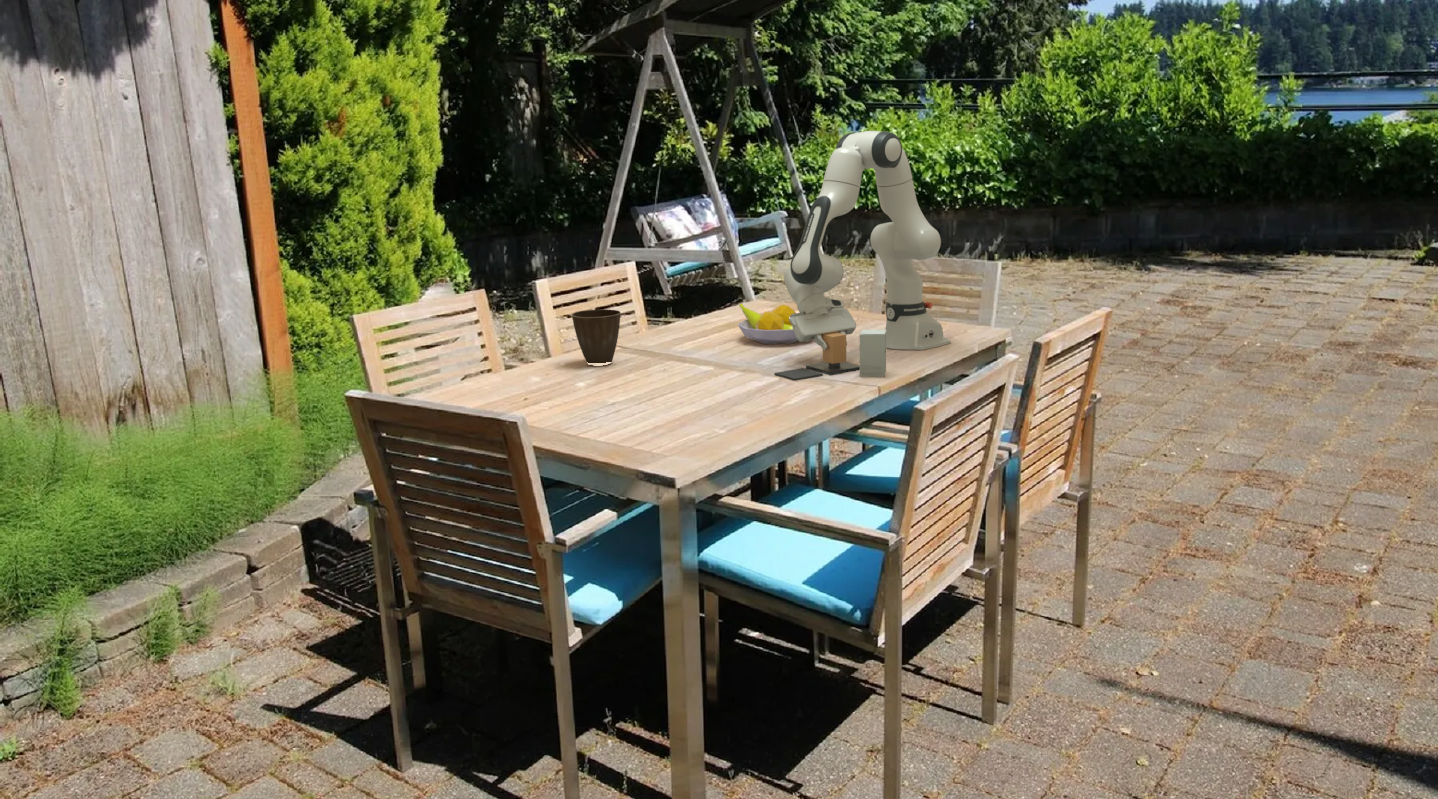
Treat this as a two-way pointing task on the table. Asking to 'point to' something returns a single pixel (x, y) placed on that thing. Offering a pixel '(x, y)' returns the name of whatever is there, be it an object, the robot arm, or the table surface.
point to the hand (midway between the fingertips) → (835, 347)
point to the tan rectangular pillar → (835, 348)
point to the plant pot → (597, 334)
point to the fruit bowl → (769, 325)
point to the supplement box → (872, 353)
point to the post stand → (833, 367)
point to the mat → (798, 374)
